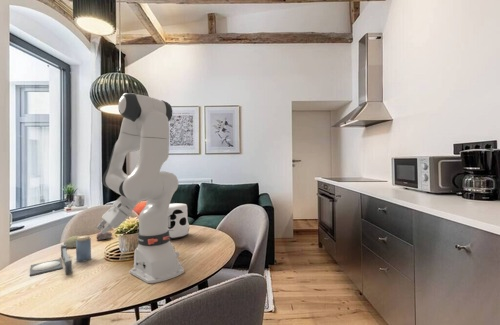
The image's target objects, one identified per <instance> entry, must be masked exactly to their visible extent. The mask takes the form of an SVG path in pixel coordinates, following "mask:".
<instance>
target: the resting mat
mask: <svg viewBox="0 0 500 325" xmlns="http://www.w3.org/2000/svg"><path fill="white" fill-rule="evenodd" d="M61 269H63V263H62V259H61V258H57V259H52V260H47V261H44V262H43V261H42V262H39V263H36V264H35V263H33V264H31V265H30V270H29V277H32V276H37V275H41V274H42V275H43V274H45V273H49V272H53V271H58V270H59V271H60V270H61Z"/></svg>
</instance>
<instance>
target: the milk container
mask: <svg viewBox="0 0 500 325" xmlns="http://www.w3.org/2000/svg"><path fill="white" fill-rule="evenodd" d="M188 219H189V218H188V205H187V204H186V203H177V202H176V203H175V202H174V203H170V205H169V209H168V230H169V234H170V240H175V239H181V238H184V237H186V236H187V235H188V234H189V232H190V224H189V221H188Z"/></svg>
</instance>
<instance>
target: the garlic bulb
mask: <svg viewBox="0 0 500 325" xmlns="http://www.w3.org/2000/svg"><path fill="white" fill-rule="evenodd" d="M105 227H106V226H105V225H104V226H103V227H102V229H104V228H105ZM112 237H113V233H112V232H111V231H110V230H108V231H107V232H106V233H105V234H102V233H101V232H98V233H97V234H96V240H98V241H101V240H107V239H111V238H112Z"/></svg>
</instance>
